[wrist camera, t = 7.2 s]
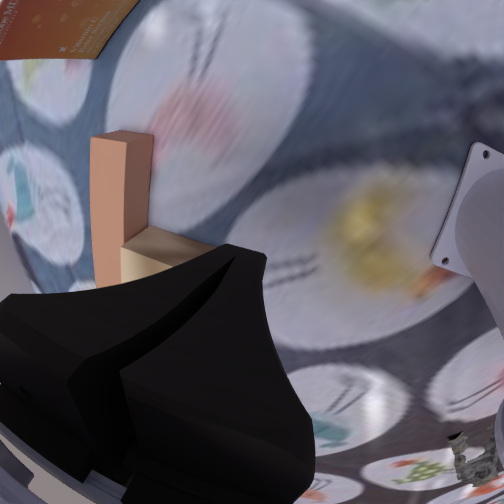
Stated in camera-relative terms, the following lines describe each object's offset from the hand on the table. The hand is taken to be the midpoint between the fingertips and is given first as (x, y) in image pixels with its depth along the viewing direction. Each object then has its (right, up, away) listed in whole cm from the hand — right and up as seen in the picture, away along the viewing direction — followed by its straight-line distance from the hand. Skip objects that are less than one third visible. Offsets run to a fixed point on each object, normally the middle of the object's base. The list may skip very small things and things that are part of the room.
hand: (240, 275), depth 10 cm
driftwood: (+29, -25, +16) cm, 41 cm away
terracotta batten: (-9, 0, +14) cm, 17 cm away
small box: (-10, +19, +6) cm, 22 cm away
